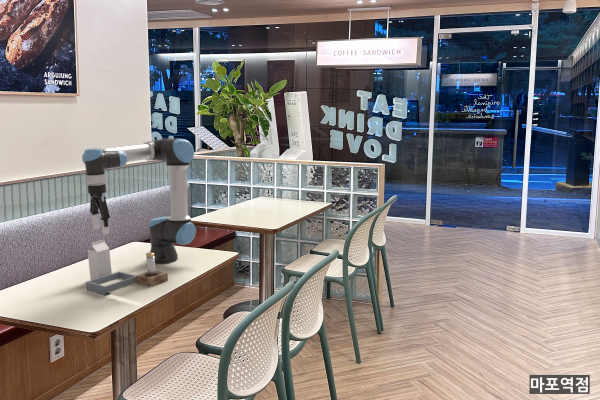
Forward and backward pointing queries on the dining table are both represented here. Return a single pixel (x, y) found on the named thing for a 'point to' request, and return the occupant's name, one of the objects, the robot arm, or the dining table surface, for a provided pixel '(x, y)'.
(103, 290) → the tray
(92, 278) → the milk carton
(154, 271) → the small bottle
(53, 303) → the dining table surface
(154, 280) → the block
